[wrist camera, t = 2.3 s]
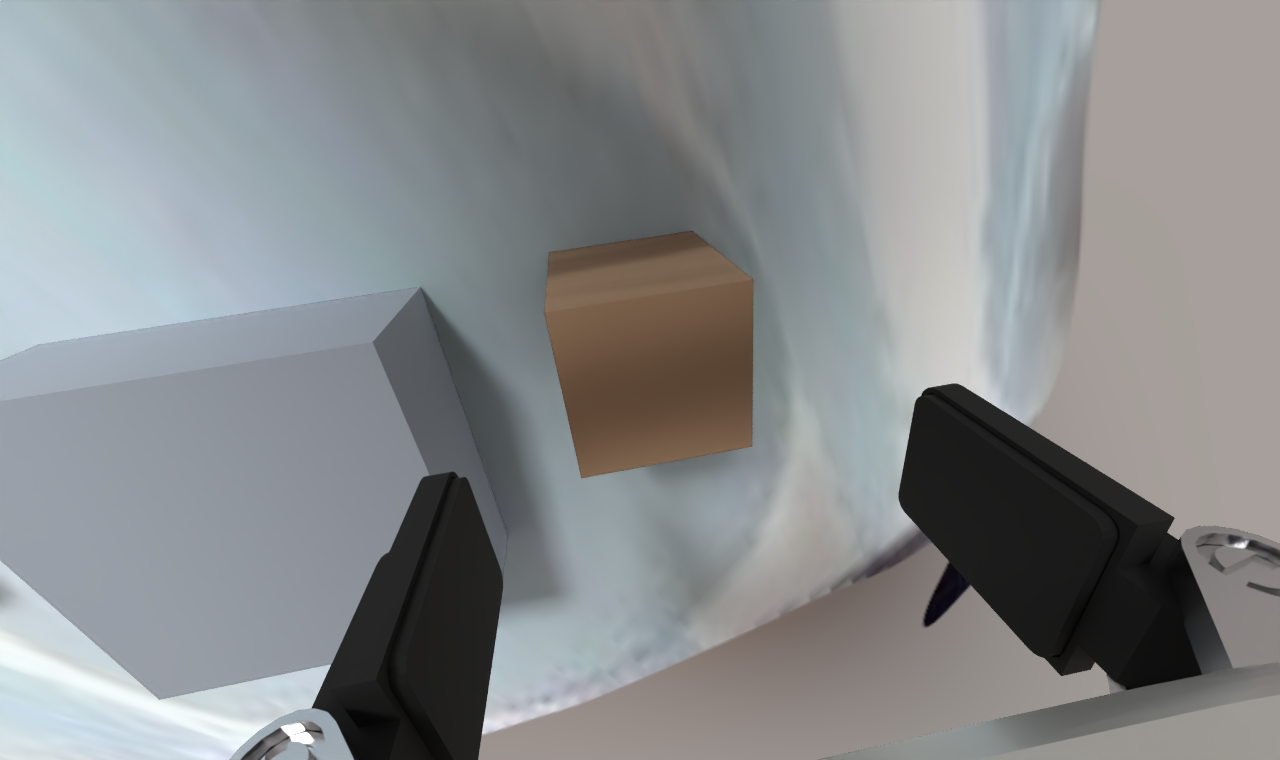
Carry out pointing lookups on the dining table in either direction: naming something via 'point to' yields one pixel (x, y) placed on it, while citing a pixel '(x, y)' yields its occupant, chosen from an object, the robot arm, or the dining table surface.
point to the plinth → (227, 480)
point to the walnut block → (651, 350)
